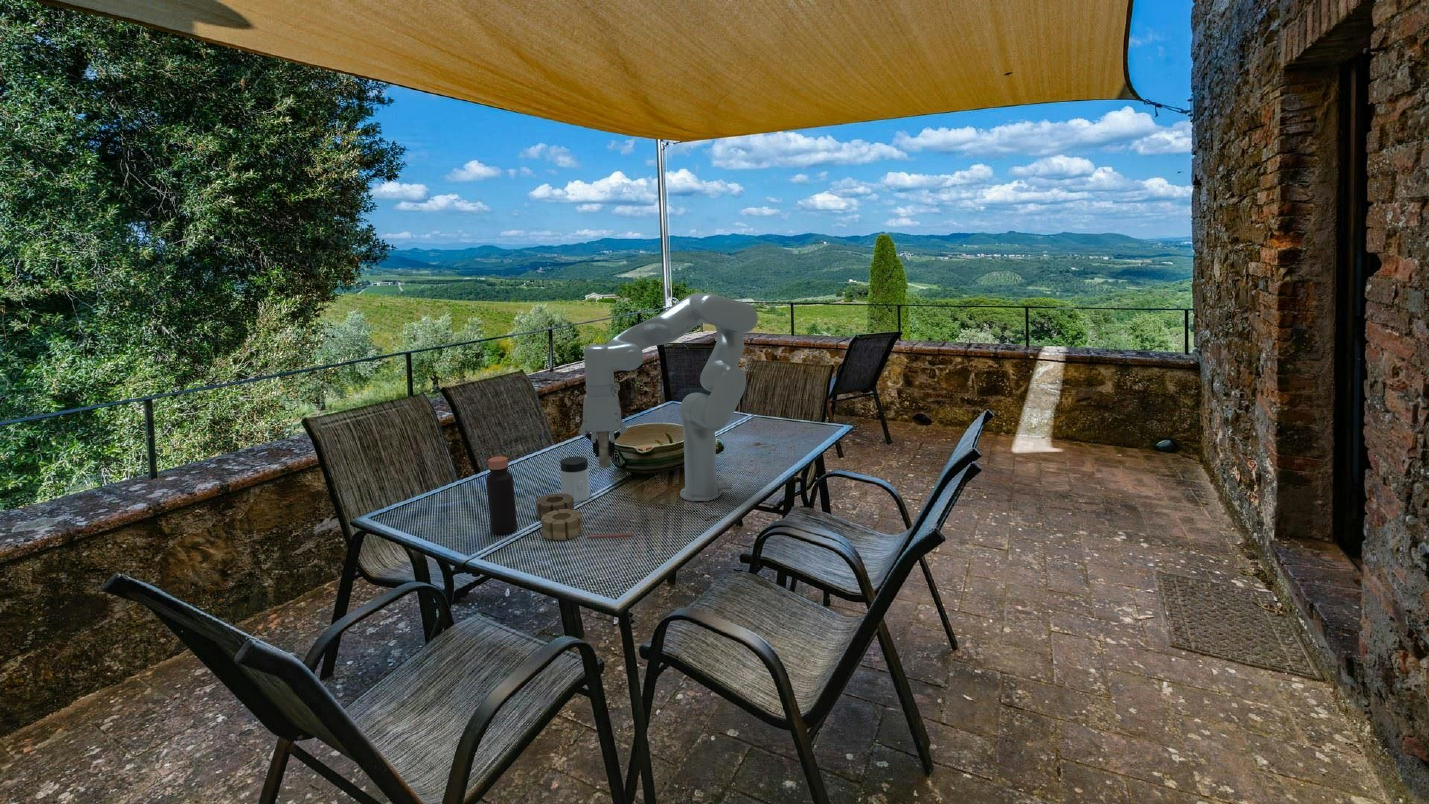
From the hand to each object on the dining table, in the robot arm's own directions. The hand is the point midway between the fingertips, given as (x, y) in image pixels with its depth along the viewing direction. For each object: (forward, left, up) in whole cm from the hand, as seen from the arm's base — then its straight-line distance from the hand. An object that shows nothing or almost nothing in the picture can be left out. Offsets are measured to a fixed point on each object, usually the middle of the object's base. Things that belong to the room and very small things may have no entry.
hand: (604, 454), depth 180 cm
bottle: (+27, +7, -18) cm, 33 cm away
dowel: (0, 0, -3) cm, 3 cm away
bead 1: (+15, -3, -18) cm, 24 cm away
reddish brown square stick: (-2, +15, -18) cm, 23 cm away
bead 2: (+11, +10, -18) cm, 23 cm away
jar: (+11, -16, -18) cm, 27 cm away
